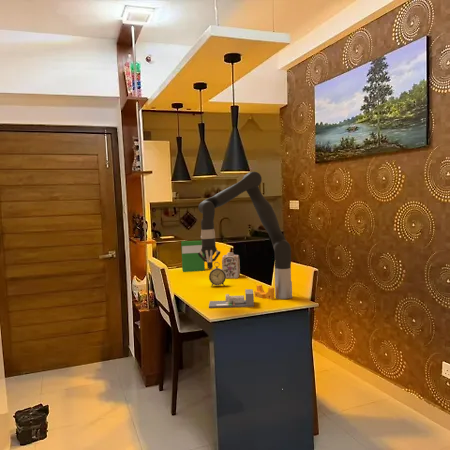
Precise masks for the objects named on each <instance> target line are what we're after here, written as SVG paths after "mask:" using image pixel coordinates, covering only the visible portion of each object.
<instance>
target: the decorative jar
mask: <svg viewBox="0 0 450 450" xmlns="http://www.w3.org/2000/svg"><path fill="white" fill-rule="evenodd" d="M221 267H222V268H221V269H222V270H223V271H224V272H225V274H226V279H239V277H240V276H239V275H241V274H240V273H241V270H240V269H241V266H240V255H239V254H235V253H234V252H227V253H226V254H224V255H222V258H221Z"/></svg>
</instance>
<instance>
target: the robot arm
mask: <svg viewBox="0 0 450 450" xmlns="http://www.w3.org/2000/svg"><path fill="white" fill-rule="evenodd" d="M262 181H263V179H262V175H261V174H260V173H259V172H257V171H250V172H248V173H246V174H245V175H243V177H242V179H241V180H239V181H238V182H236V183H234V184H232V185H230V186H228V187H227V188H225V189H223V190H221V191H219V192H218V193H215V194H214V195H213V196H210V197H208V198H206V199H204V200H203V201H201V202H200V203H199V204H198V211H199V212H200V213H201V214H202V218H201V220H200V226H201V227H200V229H201V232H200V241H201V240H202V249H201V251H200V252H199V253H198V255H199V256H200V257H201V259H202V260H203V261H204V262H205V263H206V266H207V269H208V270H213V269H214V268H213V267H214V264H213V262H216V260H217V259H218V257H219V256H220V254H221V251H220V250H218V248H217V246H216V245H217V244H216V232H215V221H214V220H215V212H216V208H218V207H219V208H220V207H222V206H223V205H225V204H227V203H229V202H231V201H232V200H234V199H236V198H237V197H238V196H239V195H241V194H243V193H245V192H246V193H247V195H248V197H249V198H250V199H251V202H252V205H253V206H254V209H255V212H256V215H257V216H258V218H259V220H260V223H261V224H262V226H263V228H264V229H265V231H266V232H267V234H268V236H269V239H270V241H271V243H272V244H271V245H272V247H273V251H274V298H276V299H277V300H288V299H293V281H292V270H291V269H292V268H291V265H292V247H291V243H290V242H288V241H287V239H286V238H285V237H286V236H284V234H283V232H282V230H281V227H280V223H279V221H278V217H277V215H276V212H275V209H274V208H273V206H272V205H271V203H270V202H269V201H268V200H267V199H266V197H265V196H264V195H263V194H262V192H261V190H260V188H259V186H260V185H261V183H262ZM202 252H203V254H204V257H203V256H202ZM214 255H215V256H214ZM213 256H214V257H213Z"/></svg>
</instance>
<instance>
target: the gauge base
mask: <svg viewBox="0 0 450 450" xmlns="http://www.w3.org/2000/svg"><path fill="white" fill-rule="evenodd" d="M244 290H245V291H244V292H245V293H244V294H245V295H244V296H245V299H244V303H236V304H226V300H209V303H208V309H221V308H222V309H224V308H227V309H228V308H231V309H232V308H254V307H255V299H254V298H255V293H254V290H253V289H247V288H245V289H244Z"/></svg>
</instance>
